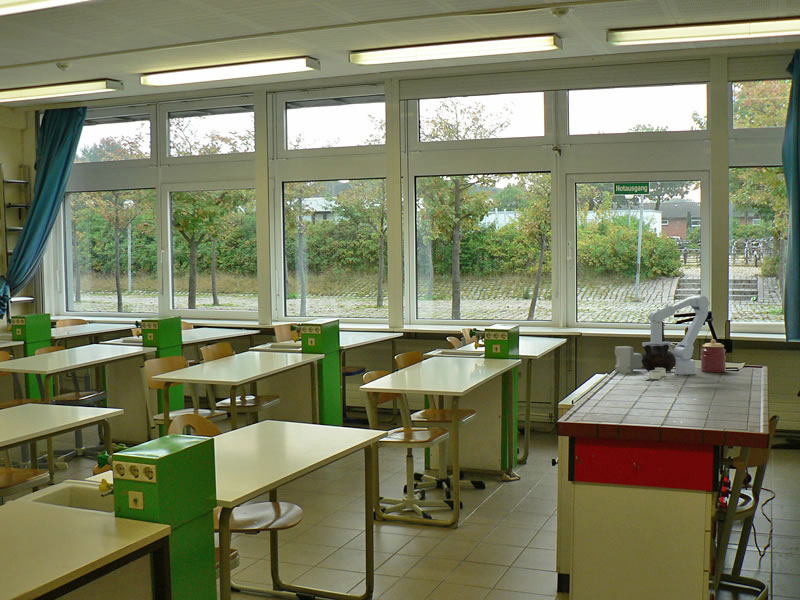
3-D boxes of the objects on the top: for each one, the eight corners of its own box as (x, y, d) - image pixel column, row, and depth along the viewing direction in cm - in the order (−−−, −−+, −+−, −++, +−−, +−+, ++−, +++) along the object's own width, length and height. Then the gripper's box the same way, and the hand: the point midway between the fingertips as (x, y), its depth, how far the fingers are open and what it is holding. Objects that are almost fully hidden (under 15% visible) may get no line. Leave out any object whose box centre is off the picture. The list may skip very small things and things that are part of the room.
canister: (701, 372, 445) (701, 340, 444) (699, 369, 457) (700, 338, 457) (726, 373, 441) (726, 340, 440) (724, 369, 454) (724, 338, 453)
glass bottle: (635, 371, 453) (634, 321, 452) (659, 369, 461) (659, 319, 460) (657, 375, 437) (657, 323, 436) (682, 372, 445) (682, 321, 444)
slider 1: (657, 377, 416) (657, 370, 416) (660, 379, 412) (660, 371, 412) (649, 378, 415) (649, 370, 415) (652, 379, 411) (652, 371, 411)
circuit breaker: (644, 375, 437) (644, 347, 437) (618, 375, 438) (618, 347, 437) (641, 373, 445) (640, 346, 444) (614, 373, 445) (614, 346, 445)
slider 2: (662, 375, 425) (662, 367, 425) (665, 376, 421) (665, 368, 421) (654, 375, 425) (654, 367, 425) (658, 376, 421) (658, 368, 421)
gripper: (646, 334, 423) (646, 360, 423) (672, 334, 424) (672, 360, 425) (640, 333, 430) (640, 359, 430) (667, 333, 431) (667, 358, 432)
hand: (656, 359), depth 428 cm, fingers open, 7 cm apart
